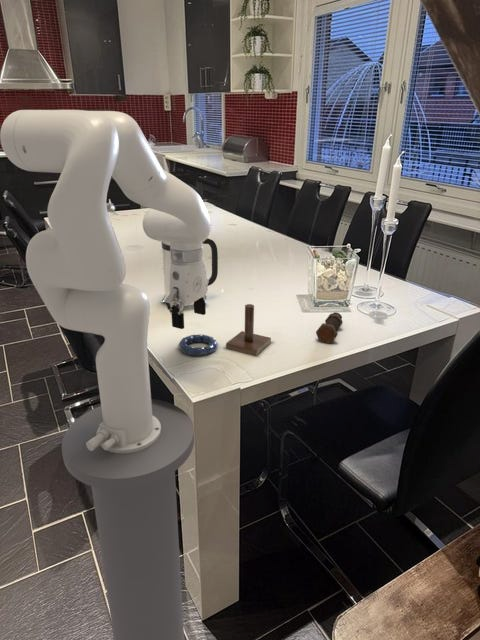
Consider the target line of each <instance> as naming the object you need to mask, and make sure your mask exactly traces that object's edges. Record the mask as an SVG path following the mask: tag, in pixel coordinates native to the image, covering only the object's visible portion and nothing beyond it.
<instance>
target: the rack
mask: <svg viewBox="0 0 480 640" xmlns="http://www.w3.org/2000/svg"><path fill="white" fill-rule="evenodd" d="M254 327H255V305H254V304H251V303H247V304H245V305H244V331H243V330H241V331H240V332H238V333H237V334H236V335H235V336H233V337H232V338H231V339H229V340H228V341H226V343H225V348H226V349H228V350H232V351H235V352H240V353H243V354H248V355H251V356H255V357H257V356H258V355H259V354H260V353H262V351H263V350H264V349H265V348H266V347H268V346H269V345H270V344H271V343H272V338H271V337H269V336H265V335H262V334H256V333H254V330H255V329H254Z"/></svg>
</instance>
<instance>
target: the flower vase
mask: <svg viewBox="0 0 480 640" xmlns="http://www.w3.org/2000/svg"><path fill="white" fill-rule="evenodd" d="M106 204H107V211H108V213H110V214H111V213H112V214H114V215H116V216H119V214H118V213H117V212H116V211H115V210H116V207H115V205H114V203H112V201H111V199H110V198H109V199H108V202H106Z"/></svg>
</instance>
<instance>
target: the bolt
mask: <svg viewBox="0 0 480 640" xmlns="http://www.w3.org/2000/svg"><path fill="white" fill-rule="evenodd" d="M342 318H343V316H342V314H340V313H339V312H336V311H335V312H332V313H330V314H329V315H328V316H327V318H326V319H325V320H324V322H322V324H320V326H319V327H318V329H317V330H316V331H315V334H316V337H317V339H318V340H319V342H321V343H324V344H332V343H333V341H334V340H335V339H336V338H337V337H338V332H337V331H338V329H339V328H340V327H341V326H342V324H343V323H344V321H343V319H342Z"/></svg>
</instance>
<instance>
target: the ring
mask: <svg viewBox="0 0 480 640" xmlns="http://www.w3.org/2000/svg"><path fill="white" fill-rule="evenodd" d="M192 343H205V344H208V345H205V346H203V347H192V346H189V344H192ZM218 345H219V344H218V341H217V340H216V339H215V338H214V337H213V336H211V335H206V334H201V333H200V334H190V335H187V336H184V337H183V338H181V340H180V341H179V343H178V344H177V346H178V348H179V350H180V351H181V352H182V354H185V355H190V356H194V357H196V356H206V355H210V354H211V353H214V352H215V351H216V349H217V347H218Z"/></svg>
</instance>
